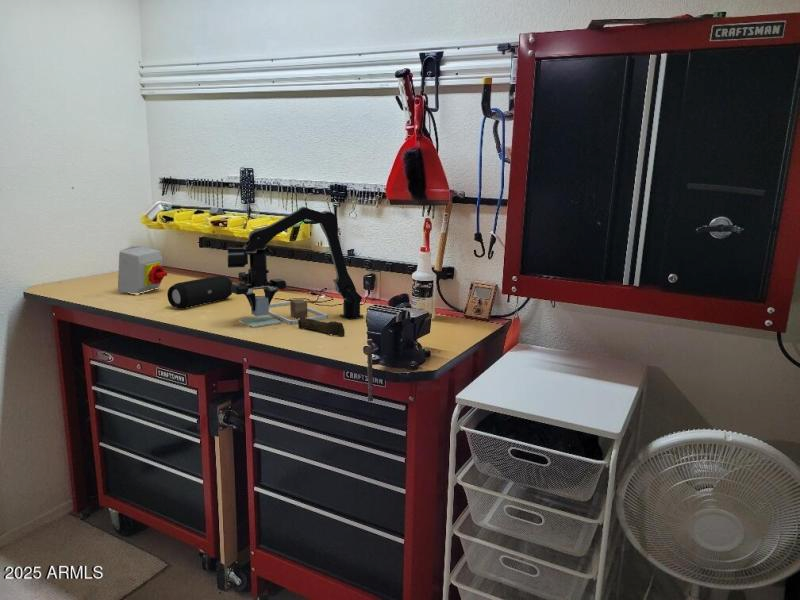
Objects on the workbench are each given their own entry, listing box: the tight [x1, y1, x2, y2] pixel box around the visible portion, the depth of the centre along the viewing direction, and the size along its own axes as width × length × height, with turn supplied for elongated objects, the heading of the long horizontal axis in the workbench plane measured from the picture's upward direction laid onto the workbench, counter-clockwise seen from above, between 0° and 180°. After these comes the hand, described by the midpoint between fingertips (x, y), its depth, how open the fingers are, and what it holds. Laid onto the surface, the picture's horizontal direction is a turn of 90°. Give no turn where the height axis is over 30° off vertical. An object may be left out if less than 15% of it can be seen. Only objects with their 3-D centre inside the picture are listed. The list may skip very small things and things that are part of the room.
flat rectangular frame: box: [268, 300, 329, 325], centre depth 222 cm, size 28×16×1 cm, turn 39°
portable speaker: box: [166, 275, 234, 309], centre depth 234 cm, size 26×10×10 cm, turn 147°
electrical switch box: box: [117, 245, 168, 293], centre depth 251 cm, size 15×15×20 cm
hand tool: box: [297, 317, 345, 337], centre depth 198 cm, size 19×4×5 cm, turn 54°
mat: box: [238, 315, 283, 328], centre depth 209 cm, size 11×11×1 cm
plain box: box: [289, 298, 308, 320], centre depth 217 cm, size 4×4×6 cm
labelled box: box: [250, 295, 270, 317], centre depth 208 cm, size 4×4×6 cm
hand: (260, 310), depth 208 cm, fingers closed on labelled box, 4 cm apart
